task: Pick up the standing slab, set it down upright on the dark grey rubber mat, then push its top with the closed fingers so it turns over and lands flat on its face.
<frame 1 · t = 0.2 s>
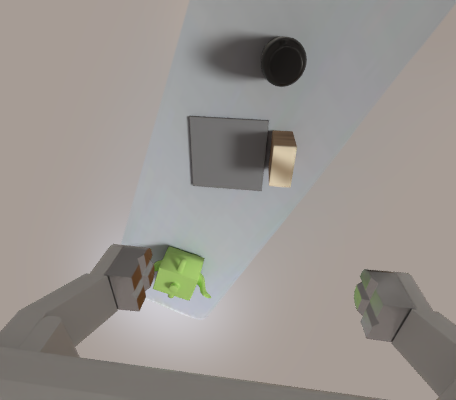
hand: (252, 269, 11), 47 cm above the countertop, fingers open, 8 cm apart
teapot: (183, 259, 78), on the countertop
mat: (228, 155, 59), on the countertop
supplement bottle: (280, 58, 48), on the countertop
slab: (280, 149, 57), on the countertop
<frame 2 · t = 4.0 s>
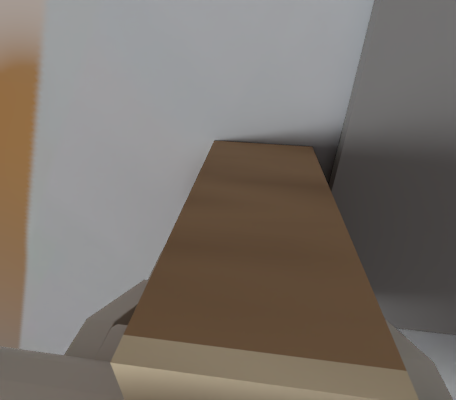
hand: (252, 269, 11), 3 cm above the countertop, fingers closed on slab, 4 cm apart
slab: (255, 222, 13), on the countertop, touching gripper
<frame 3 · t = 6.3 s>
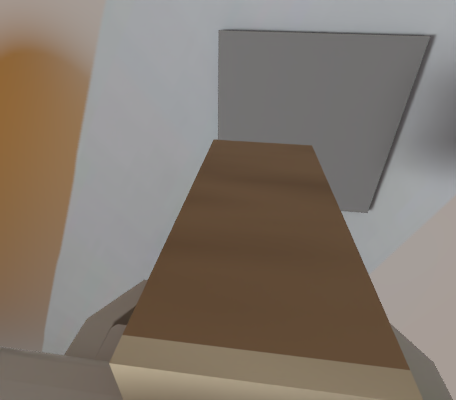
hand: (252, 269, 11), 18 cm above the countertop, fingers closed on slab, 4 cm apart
mat: (302, 132, 26), on the countertop
slab: (254, 221, 13), point 15 cm above the countertop, touching gripper
when the fingers open (5 cm above the countertop, at t = 8.9 s): slab drops 1 cm, resting on mat.
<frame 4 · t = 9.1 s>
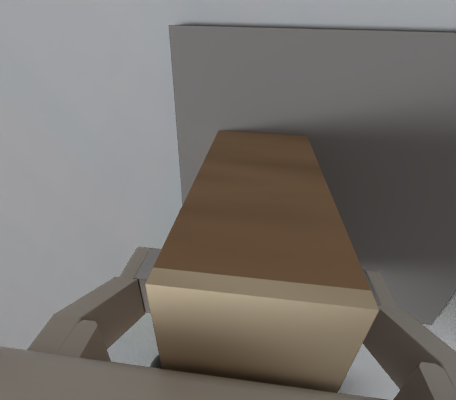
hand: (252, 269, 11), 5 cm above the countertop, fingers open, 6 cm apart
mat: (331, 206, 15), on the countertop
slab: (255, 206, 14), point 1 cm above the countertop, touching mat
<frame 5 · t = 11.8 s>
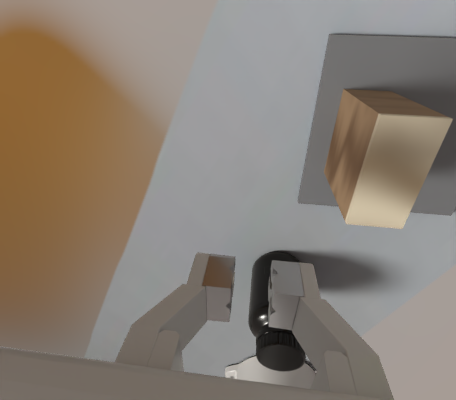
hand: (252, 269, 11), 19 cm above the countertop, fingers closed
mat: (396, 135, 26), on the countertop
supplement bottle: (276, 267, 37), on the countertop
slab: (354, 135, 26), point 1 cm above the countertop, touching mat
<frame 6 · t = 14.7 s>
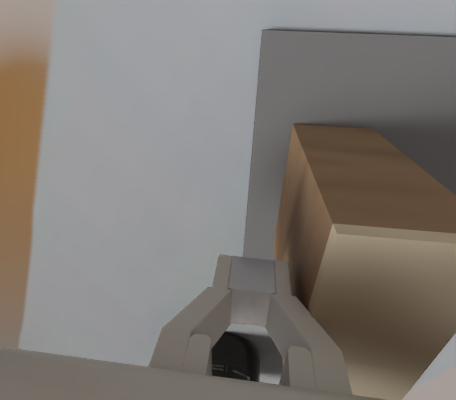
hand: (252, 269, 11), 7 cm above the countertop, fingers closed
mat: (384, 194, 16), on the countertop
supplement bottle: (225, 349, 27), on the countertop
slab: (316, 194, 16), point 1 cm above the countertop, touching gripper, mat
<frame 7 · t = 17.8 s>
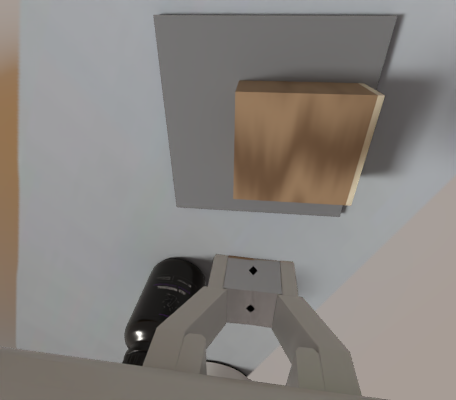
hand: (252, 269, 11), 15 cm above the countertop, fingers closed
mat: (262, 130, 23), on the countertop
supplement bottle: (179, 274, 34), on the countertop
slab: (236, 141, 21), point 3 cm above the countertop, tilted 90°, touching mat
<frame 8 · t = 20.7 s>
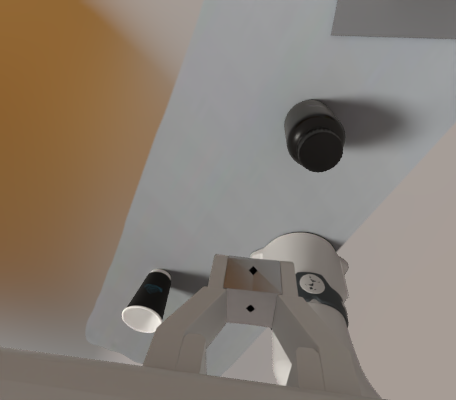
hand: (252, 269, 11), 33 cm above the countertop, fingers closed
dixie cup: (160, 275, 61), on the countertop
supplement bottle: (306, 122, 40), on the countertop
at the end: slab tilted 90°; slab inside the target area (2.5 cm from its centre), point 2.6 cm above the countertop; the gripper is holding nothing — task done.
